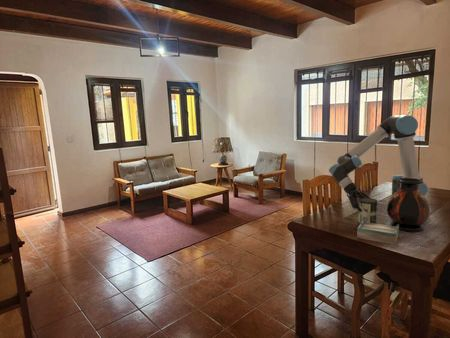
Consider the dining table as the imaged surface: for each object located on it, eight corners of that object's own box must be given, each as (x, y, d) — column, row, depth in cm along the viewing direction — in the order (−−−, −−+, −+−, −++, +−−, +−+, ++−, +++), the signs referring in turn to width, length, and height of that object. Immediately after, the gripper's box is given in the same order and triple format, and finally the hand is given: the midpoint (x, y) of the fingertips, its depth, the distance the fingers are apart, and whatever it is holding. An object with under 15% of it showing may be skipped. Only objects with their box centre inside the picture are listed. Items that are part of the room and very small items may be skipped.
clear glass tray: (363, 228, 173) (363, 219, 172) (398, 234, 163) (399, 224, 162) (356, 237, 160) (357, 227, 160) (395, 244, 150) (395, 234, 149)
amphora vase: (386, 219, 186) (389, 175, 182) (428, 224, 175) (432, 177, 170) (383, 230, 168) (386, 181, 164) (429, 237, 157) (434, 185, 153)
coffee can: (373, 219, 187) (374, 197, 185) (378, 225, 177) (379, 202, 175) (356, 219, 189) (356, 197, 187) (360, 224, 179) (360, 202, 177)
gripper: (353, 185, 200) (375, 211, 191) (333, 192, 184) (356, 221, 175) (361, 178, 195) (384, 205, 186) (341, 185, 179) (365, 214, 170)
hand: (371, 213), depth 180 cm, fingers open, 13 cm apart
